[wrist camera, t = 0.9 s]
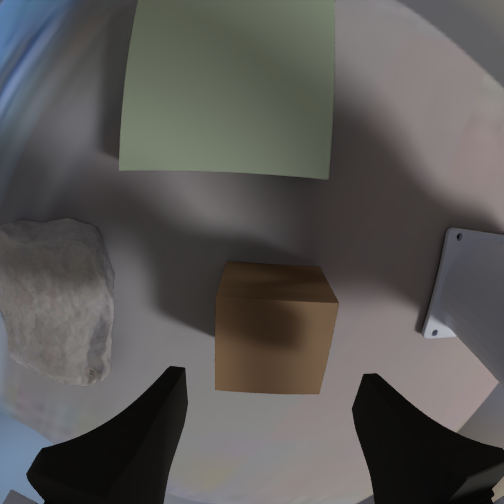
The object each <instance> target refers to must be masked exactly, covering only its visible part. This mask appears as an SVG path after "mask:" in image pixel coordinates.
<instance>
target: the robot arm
mask: <svg viewBox="0 0 504 504" xmlns="http://www.w3.org/2000/svg"><path fill="white" fill-rule="evenodd" d="M458 234H459V238H458V239H457V235H458ZM434 330H435V332H433V331H434ZM432 332H433V333H432ZM422 336H423V337H424V338H425V339H432V338H447V337H458V338H459V339H460V340H461V341H462V342H463V343H464V344H465V345H466V346H467V347H468V348H469V349H470V350H471V351H472V352H473V353H474V355H475V356H476V357H477V358H478V359H479V360H480V361H481V362H482V363H483V364H484V366H485V367H486V368H487V369H488V370H489V371H490V372H491V373H492V374H493V376H494V377H495V378H496V379H497V380H498V381H499V382H500V384H501V385H502V386H503V387H504V235H500V234H494V233H487V232H481V231H474V230H467V229H460V228H449V229H448V230H447V232H446V236H445V241H444V246H443V251H442V256H441V261H440V266H439V270H438V274H437V279H436V283H435V287H434V291H433V294H432V298H431V302H430V306H429V309H428V313H427V316H426V319H425V323H424V326H423V329H422ZM187 406H188V398H187V386H186V373H185V368H183V367H175V366H170V367H168V368H167V369H166V370H165V372H164V373H163V374H162V375H161V376H160V377H159V378H158V379H157V380H156V381H155V382H154V383H153V384H152V385H151V386H150V387H149V388H148V389H147V390H146V391H145V392H144V393H143V394H142V395H141V396H140V397H139V398H138V399H137V400H135V401H134V402H133V403H132V404H131V405H130V406H128V407H127V408H126V409H125V410H123V411H122V412H121V413H119V414H118V415H117V416H115V417H114V418H112V419H111V420H109V421H108V422H106V423H104V424H103V425H101V426H99V427H97V428H96V429H94V430H92V431H90V432H88V433H86V434H84V435H81V436H79V437H77V438H74V439H71V440H69V441H66V442H63V443H60V444H56V445H53V446H49V447H45V448H42V449H41V451H40V452H39V453H38V455H37V456H36V458H35V460H34V461H33V463H32V465H31V467H30V468H29V470H28V472H27V474H26V475H27V478H28V481H29V482H30V484H31V485H32V486H33V488H34V489H35V490H36V491H37V492H38V494H39V495H40V496H41V497H42V498H43V499H44V501H45V502H44V504H163V503H164V497H165V491H166V486H167V480H168V475H169V471H170V467H171V464H172V461H173V458H174V455H175V451H176V448H177V445H178V442H179V439H180V436H181V433H182V430H183V427H184V423H185V418H186V412H187ZM352 412H353V419H354V424H355V429H356V432H357V435H358V438H359V441H360V444H361V447H362V450H363V453H364V456H365V459H366V463H367V466H368V469H369V473H370V476H371V482H372V488H373V494H374V501H375V504H504V496H503V497H501V498H499V499H498V500H497V501H495V502H494V503H493V502H492V500H491V498H492V497H493V496H494V492H493V490H492V488H493V487H494V486H495V485H496V484H497V483H498V482H499V481H500V480H501V478H502V477H503V476H504V450H503V449H502V448H499V447H494V446H491V445H487V444H483V443H480V442H477V441H474V440H471V439H469V438H466V437H464V436H461V435H460V434H457V433H455V432H453V431H451V430H449V429H448V428H446V427H444V426H442V425H441V424H439V423H437V422H436V421H434V420H433V419H431V418H430V417H428V416H427V415H425V414H424V413H423V412H421V411H420V410H419V409H417V408H416V407H415V406H414V405H412V404H411V403H410V402H409V401H408V400H406V399H405V398H404V397H403V396H402V395H401V394H399V393H398V392H397V391H396V390H395V389H394V388H393V387H392V386H391V385H390V384H388V383H387V382H386V381H385V380H384V379H383V378H382V377H381V376H379V375H378V374H377V373H373V374H363V377H362V380H361V383H360V386H359V389H358V392H357V395H356V398H355V401H354V404H353V407H352ZM3 504H38V503H36V502H34V501H33V500H31V499H29V498H27V497H25V496H23V495H21V494H19V493H18V492H16V491H14V490H10V492H9V494H8V495H7V497H6V499H5V501H4V502H3Z"/></svg>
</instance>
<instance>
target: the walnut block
mask: <svg viewBox="0 0 504 504" xmlns="http://www.w3.org/2000/svg"><path fill="white" fill-rule="evenodd" d="M338 306H339V302H338V300H337V298H336V296H335V294H334V293H333V291H332V289H331V287H330V285H329V283H328V281H327V279H326V278H325V276H324V274H323V272H322V270H321V268H320V267H309V266H293V265H277V264H261V263H245V262H230V261H226V265H225V268H224V271H223V274H222V277H221V281H220V284H219V287H218V290H217V293H216V304H215V390H222V391H234V392H249V393H269V394H319V393H320V389H321V385H322V381H323V376H324V372H325V368H326V364H327V359H328V355H329V350H330V346H331V341H332V336H333V332H334V327H335V322H336V317H337V311H338Z"/></svg>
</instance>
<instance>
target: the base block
mask: <svg viewBox="0 0 504 504" xmlns="http://www.w3.org/2000/svg"><path fill="white" fill-rule="evenodd" d="M334 77H335V0H138V3H137V8H136V13H135V18H134V23H133V28H132V34H131V40H130V46H129V53H128V60H127V67H126V75H125V84H124V94H123V104H122V116H121V131H120V152H119V171H130V170H172V171H212V172H235V173H253V174H268V175H282V176H294V177H305V178H316V179H326V180H329V168H330V155H331V141H332V125H333V105H334Z"/></svg>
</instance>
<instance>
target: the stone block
mask: <svg viewBox="0 0 504 504" xmlns="http://www.w3.org/2000/svg"><path fill="white" fill-rule="evenodd" d="M114 277H115V273H114V271H113V269H112V266H111V263H110V261H109V257H108V253H107V251H106V248H105V245H104V242H103V239H102V236H101V235H100V232H99V231H98V229H97V228H96V227H95V226H93V225H91V224H85V223H82V222H79V221H77V220H74V219H70V218H65V219H60V220H51V221H49V222H47V223H46V222H39V221H30V220H16V221H15V222H10V223H5V224H2V225H0V309H1V311H2V314H3V316H4V320H5V327H6V330H7V333H8V350H9V353H10V355H11V357H12V358H13V359H14V360H15V361H16V362H18V363H19V364H21V365H23V366H25V367H27V368H28V369H30V370H31V371H34V372H35V373H38V374H41V375H43V376H45V377H47V378H51V379H54V380H56V381H60V382H63V383H66V384H72V385H81V386H93V385H94V384H95V383H96V381H103V380H104V379H105V378H106V377H107V376H108V374H109V373H110V371H111V344H112V327H113V323H114V303H115V301H114V298H113V288H114Z"/></svg>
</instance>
